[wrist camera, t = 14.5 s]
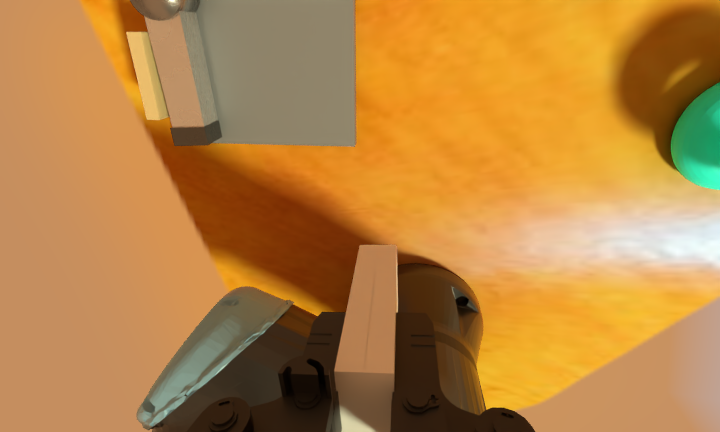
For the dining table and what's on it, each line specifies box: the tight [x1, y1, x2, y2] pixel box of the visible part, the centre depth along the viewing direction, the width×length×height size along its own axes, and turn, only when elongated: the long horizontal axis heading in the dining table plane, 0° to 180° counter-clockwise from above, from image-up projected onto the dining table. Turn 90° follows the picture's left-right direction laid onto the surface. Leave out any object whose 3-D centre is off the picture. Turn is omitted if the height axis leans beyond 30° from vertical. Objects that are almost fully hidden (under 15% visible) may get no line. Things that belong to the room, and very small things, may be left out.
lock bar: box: [130, 0, 222, 146], centre depth 33 cm, size 14×4×3 cm, turn 3°
